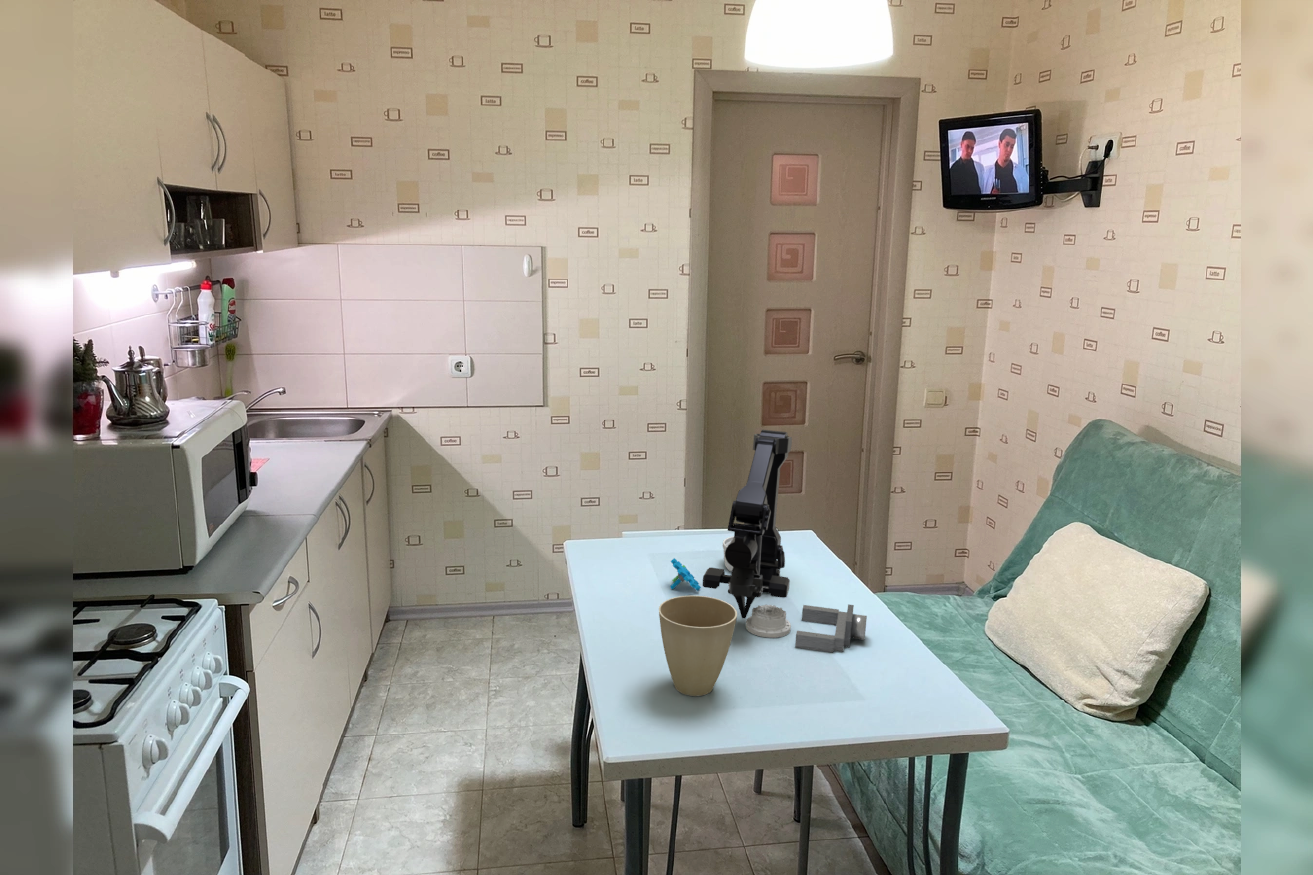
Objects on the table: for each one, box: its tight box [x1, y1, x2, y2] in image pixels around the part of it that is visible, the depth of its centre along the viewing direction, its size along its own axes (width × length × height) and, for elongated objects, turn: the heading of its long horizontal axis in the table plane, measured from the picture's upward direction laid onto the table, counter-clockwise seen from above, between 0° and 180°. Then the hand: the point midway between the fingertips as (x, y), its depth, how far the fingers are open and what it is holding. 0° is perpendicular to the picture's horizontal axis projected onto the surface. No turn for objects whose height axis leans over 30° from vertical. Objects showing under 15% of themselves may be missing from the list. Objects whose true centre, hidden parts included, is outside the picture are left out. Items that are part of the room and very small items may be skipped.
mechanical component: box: [745, 604, 792, 639], centre depth 204 cm, size 10×4×10 cm
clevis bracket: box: [794, 604, 868, 653], centre depth 200 cm, size 14×16×6 cm
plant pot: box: [658, 595, 738, 697], centre depth 176 cm, size 15×15×16 cm
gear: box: [669, 557, 702, 592], centre depth 224 cm, size 11×6×10 cm
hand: (744, 617), depth 205 cm, fingers closed
